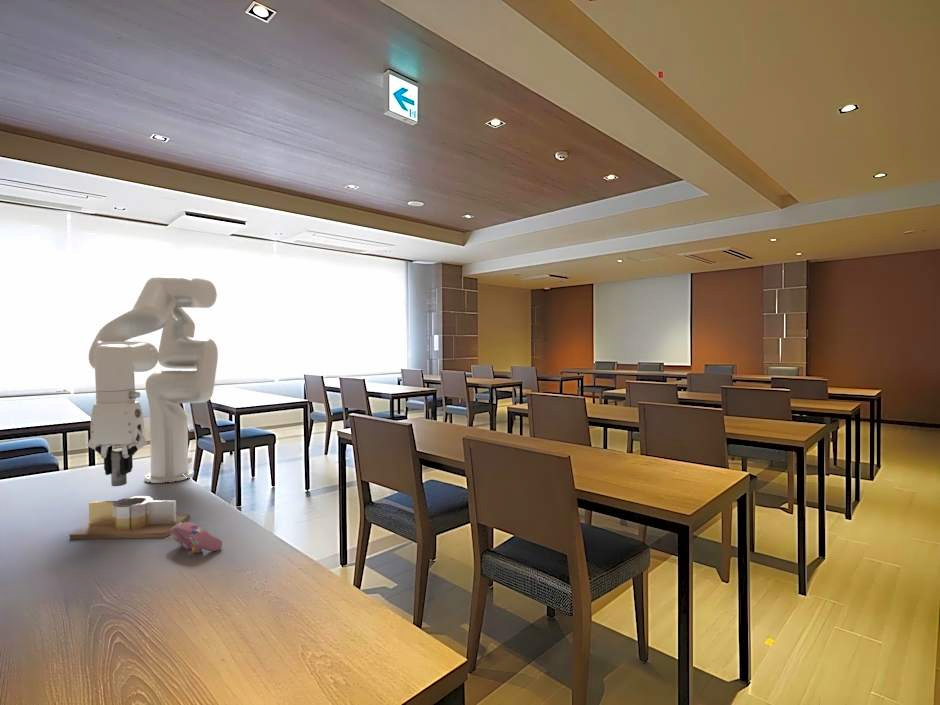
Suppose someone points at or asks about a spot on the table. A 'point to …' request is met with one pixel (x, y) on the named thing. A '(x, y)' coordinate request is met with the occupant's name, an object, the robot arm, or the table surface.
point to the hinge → (132, 512)
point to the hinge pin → (117, 469)
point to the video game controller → (194, 537)
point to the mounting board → (127, 531)
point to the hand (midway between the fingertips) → (118, 472)
